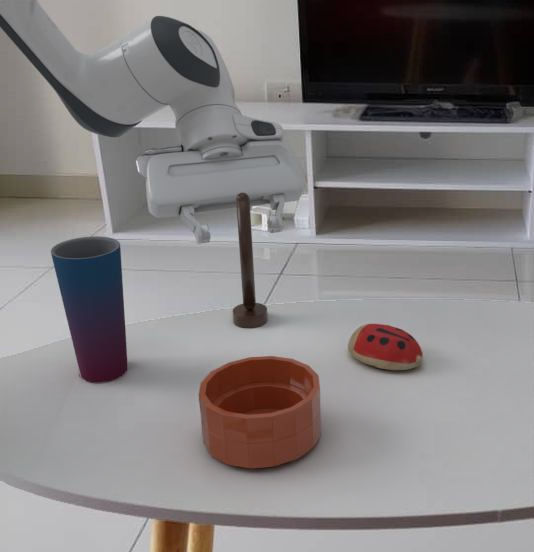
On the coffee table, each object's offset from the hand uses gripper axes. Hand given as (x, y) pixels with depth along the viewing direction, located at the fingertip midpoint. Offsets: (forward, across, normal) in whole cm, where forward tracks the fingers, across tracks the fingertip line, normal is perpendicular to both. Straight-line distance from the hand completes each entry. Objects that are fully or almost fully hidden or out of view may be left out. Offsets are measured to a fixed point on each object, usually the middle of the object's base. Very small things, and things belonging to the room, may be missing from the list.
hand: (241, 235), depth 94 cm
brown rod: (+9, 0, +7) cm, 11 cm away
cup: (+13, -19, +3) cm, 23 cm away
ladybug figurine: (+21, +11, -5) cm, 24 cm away
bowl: (+27, -7, -12) cm, 30 cm away
